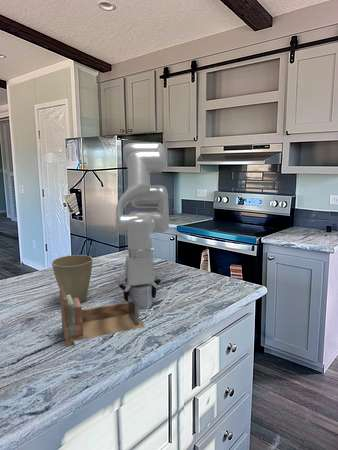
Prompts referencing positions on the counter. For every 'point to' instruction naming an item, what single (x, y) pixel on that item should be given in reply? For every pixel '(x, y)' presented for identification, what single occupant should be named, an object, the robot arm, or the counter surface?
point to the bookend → (133, 310)
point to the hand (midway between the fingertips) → (140, 299)
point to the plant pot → (73, 274)
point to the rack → (93, 319)
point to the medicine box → (142, 295)
